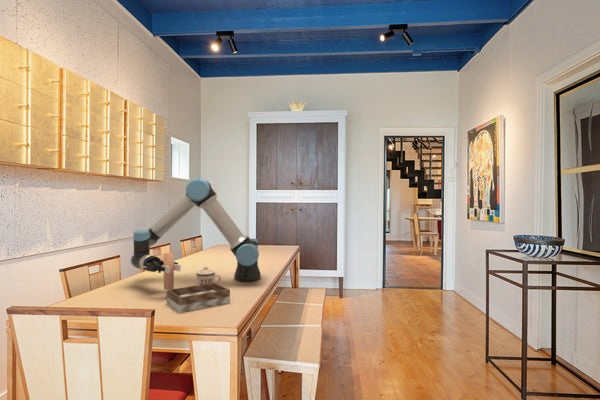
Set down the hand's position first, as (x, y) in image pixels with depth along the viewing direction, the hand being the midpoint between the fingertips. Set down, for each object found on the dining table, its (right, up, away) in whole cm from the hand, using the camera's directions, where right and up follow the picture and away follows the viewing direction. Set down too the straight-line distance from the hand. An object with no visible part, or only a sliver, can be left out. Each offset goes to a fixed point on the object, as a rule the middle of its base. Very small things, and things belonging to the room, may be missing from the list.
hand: (174, 269), depth 157 cm
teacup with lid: (+11, -14, +18) cm, 25 cm away
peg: (-4, -10, +4) cm, 11 cm away
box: (+12, -14, -5) cm, 19 cm away
